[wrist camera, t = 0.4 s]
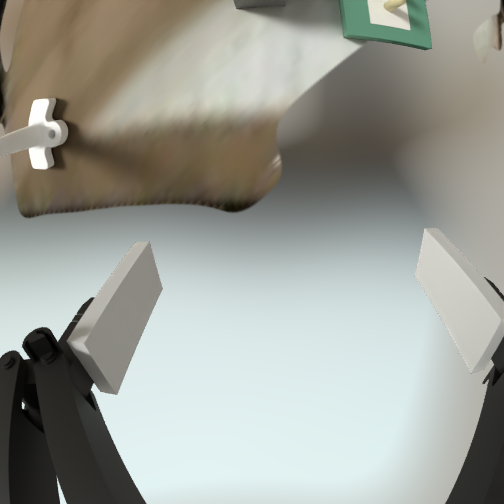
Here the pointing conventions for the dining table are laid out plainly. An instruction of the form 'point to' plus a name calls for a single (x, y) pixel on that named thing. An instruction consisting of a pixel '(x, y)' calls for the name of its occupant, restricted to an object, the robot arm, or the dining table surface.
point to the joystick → (37, 135)
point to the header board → (387, 21)
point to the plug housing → (258, 3)
